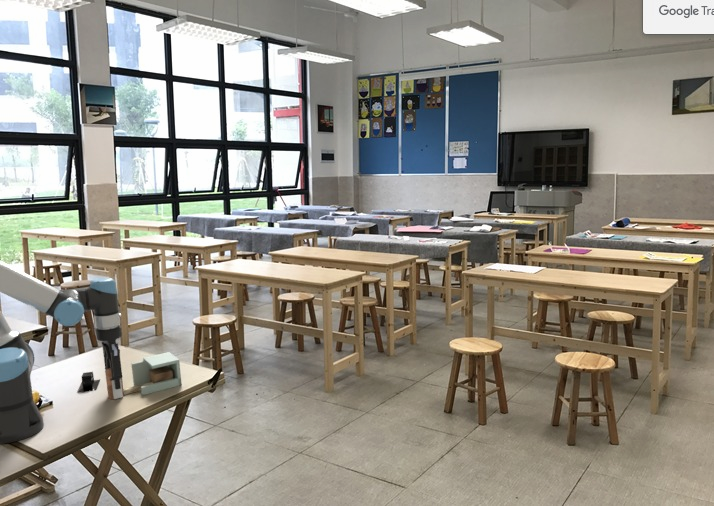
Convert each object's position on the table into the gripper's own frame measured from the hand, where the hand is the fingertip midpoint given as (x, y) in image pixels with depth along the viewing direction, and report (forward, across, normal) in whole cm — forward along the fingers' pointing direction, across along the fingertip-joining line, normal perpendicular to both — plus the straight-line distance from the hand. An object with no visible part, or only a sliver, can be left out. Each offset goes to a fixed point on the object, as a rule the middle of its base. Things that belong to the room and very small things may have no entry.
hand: (116, 394), depth 196 cm
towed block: (0, 0, -8) cm, 8 cm away
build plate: (+1, +16, +5) cm, 17 cm away
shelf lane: (0, 0, -14) cm, 14 cm away
